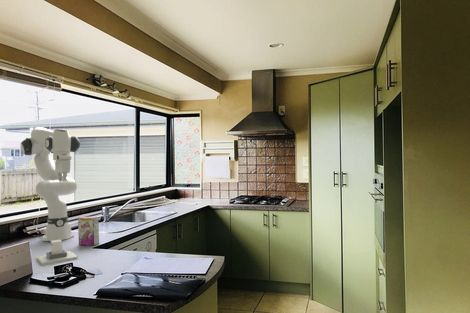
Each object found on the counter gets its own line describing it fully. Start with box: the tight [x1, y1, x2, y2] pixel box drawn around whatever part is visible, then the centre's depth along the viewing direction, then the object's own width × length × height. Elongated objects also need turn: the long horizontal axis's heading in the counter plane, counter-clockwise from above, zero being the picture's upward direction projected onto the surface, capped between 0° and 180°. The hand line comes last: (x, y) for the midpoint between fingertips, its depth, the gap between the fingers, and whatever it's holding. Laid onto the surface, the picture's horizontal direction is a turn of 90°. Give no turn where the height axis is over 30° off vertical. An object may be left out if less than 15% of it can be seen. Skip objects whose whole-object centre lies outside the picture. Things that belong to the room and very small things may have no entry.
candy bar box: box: [77, 216, 100, 246], centre depth 212 cm, size 11×5×16 cm, turn 74°
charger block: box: [50, 240, 63, 255], centre depth 182 cm, size 4×5×8 cm
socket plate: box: [35, 249, 78, 266], centre depth 182 cm, size 16×16×3 cm
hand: (62, 181), depth 202 cm, fingers open, 8 cm apart
